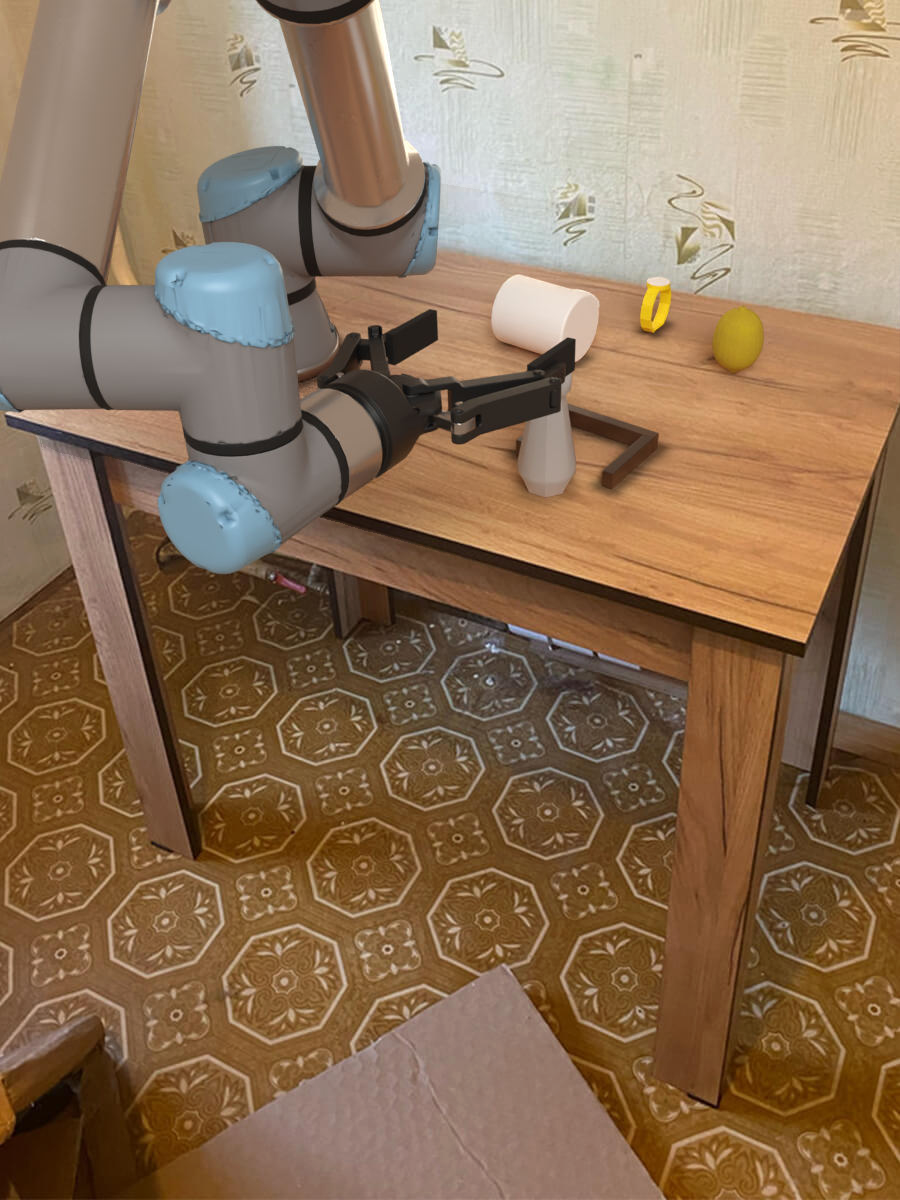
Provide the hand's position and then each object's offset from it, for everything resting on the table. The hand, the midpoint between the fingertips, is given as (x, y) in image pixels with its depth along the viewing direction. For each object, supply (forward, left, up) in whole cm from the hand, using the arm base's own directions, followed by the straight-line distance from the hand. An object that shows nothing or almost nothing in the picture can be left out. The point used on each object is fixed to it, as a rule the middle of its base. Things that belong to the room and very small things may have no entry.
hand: (500, 338), depth 94 cm
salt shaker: (+1, +7, -19) cm, 20 cm away
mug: (-16, +33, -19) cm, 41 cm away
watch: (-7, +43, -19) cm, 47 cm away
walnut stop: (+1, +15, -19) cm, 24 cm away
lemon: (+5, +38, -19) cm, 43 cm away
